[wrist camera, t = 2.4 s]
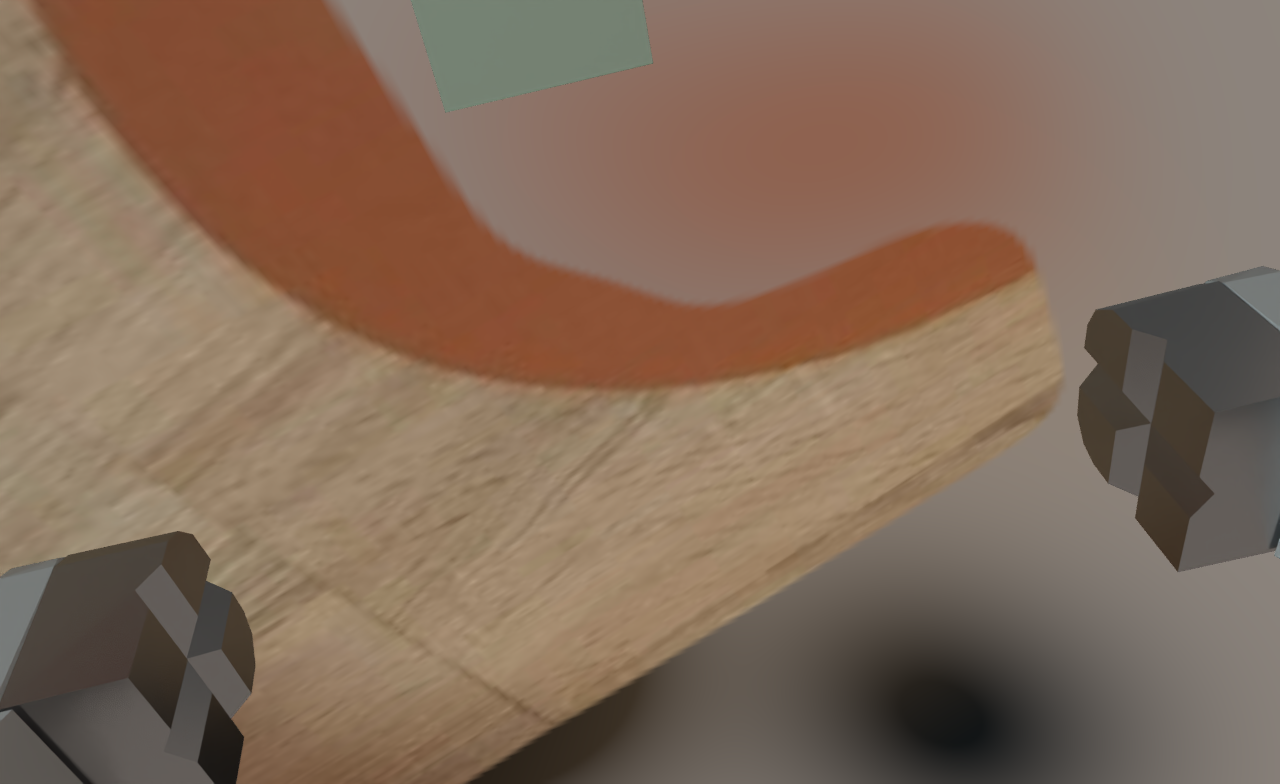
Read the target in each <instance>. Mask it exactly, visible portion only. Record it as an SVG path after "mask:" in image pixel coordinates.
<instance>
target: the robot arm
mask: <svg viewBox="0 0 1280 784" xmlns="http://www.w3.org/2000/svg"><path fill="white" fill-rule="evenodd" d="M1084 348H1085V349H1086V350H1087V352H1088V353H1089V354H1090V355H1091V356H1092V357H1093V358H1094V359H1095V361H1096V362H1097V363H1098V364H1097V366H1096V367H1095V368H1094V369H1093V371H1092V372H1091V373H1090V374H1089V376H1088V377H1087V378H1086V379H1085V381H1084V382H1083V383H1082V384H1081V386H1080V387H1079V400H1078V413H1077V416H1078V421H1079V425H1080V430H1081V434H1082V439H1083V443H1084V445H1085V447H1086V449H1087V451H1088V454H1089V456H1090V458H1091V460H1092V462H1093V464H1094V465H1095V467H1096V468H1097V469H1098V471H1099V472H1100V473H1101V475H1102V476H1103V477H1104V478H1105V480H1106V481H1107V483H1108V484H1111V485H1113V486H1115V487H1117V488H1120V489H1122V490H1124V491H1127V492H1129V493H1131V494H1134V495H1136V496H1138V502H1137V510H1136V515H1135V518H1136V520H1137V521H1138V522H1139V524H1140V525H1141V526H1142V527H1143V528H1144V530H1145V531H1146V532H1147V534H1148V535H1149V536H1150V538H1151V539H1152V540H1153V541H1154V542H1155V544H1156V545H1157V546H1158V548H1159V549H1160V550H1161V551H1162V553H1163V554H1164V555H1165V556H1166V558H1167V559H1168V560H1169V561H1170V563H1171V564H1172V565H1173V566H1174V568H1175V569H1176V570H1177V572H1180V571H1185V570H1190V569H1194V568H1199V567H1203V566H1208V565H1213V564H1217V563H1222V562H1226V561H1231V560H1235V559H1240V558H1245V557H1249V556H1254V555H1258V554H1263V553H1267V552H1272V551H1275V556H1276V557H1277V558H1279V559H1280V271H1279V270H1276V269H1272V268H1268V267H1264V266H1261V267H1257V268H1254V269H1250V270H1247V271H1242V272H1239V273H1235V274H1231V275H1227V276H1223V277H1220V278H1216V279H1212V280H1208V281H1206V282H1205V283H1204V284H1199V285H1194V286H1190V287H1186V288H1182V289H1178V290H1174V291H1170V292H1166V293H1162V294H1157V295H1154V296H1150V297H1145V298H1141V299H1137V300H1133V301H1129V302H1125V303H1121V304H1117V305H1113V306H1109V307H1105V308H1101V309H1097V310H1095V312H1094V314H1093V316H1092V318H1091V319H1090V321H1089V323H1088V325H1087V332H1086V340H1085V346H1084ZM210 561H211V559H210V558H209V556H208V555H207V554H206V552H205V551H204V549H203V548H202V547H201V545H200V544H199V542H198V541H197V540H196V538H195V537H194V535H193V534H189V533H185V532H180V531H176V532H172V533H167V534H163V535H158V536H153V537H149V538H144V539H140V540H135V541H130V542H126V543H121V544H117V545H112V546H108V547H103V548H98V549H94V550H89V551H85V552H80V553H75V554H71V555H68V556H66V557H64V558H57V559H52V560H48V561H43V562H39V563H34V564H30V565H25V566H21V567H16V568H12V569H10V570H9V571H7V572H6V573H5V574H3V575H2V576H1V577H0V784H236V781H237V775H238V769H239V764H240V758H241V752H242V746H243V741H244V736H243V735H242V734H241V732H240V731H239V729H238V728H237V727H236V725H235V724H234V722H233V721H232V720H231V718H232V717H233V716H234V714H235V713H236V712H237V711H238V709H239V708H240V707H241V706H242V705H243V703H244V702H245V701H246V700H247V698H248V697H249V696H250V695H251V693H252V686H253V679H254V672H255V657H254V647H253V637H252V632H251V629H250V627H249V624H248V621H247V618H246V616H245V613H244V611H243V609H242V607H241V606H240V604H239V603H238V601H237V599H236V598H235V596H234V595H233V593H232V592H230V591H228V590H225V589H223V588H221V587H219V586H216V585H214V584H212V583H210V582H208V581H206V578H207V574H208V569H209V565H210Z"/></svg>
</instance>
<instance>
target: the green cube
mask: <svg viewBox="0 0 1280 784" xmlns="http://www.w3.org/2000/svg"><path fill="white" fill-rule="evenodd" d="M411 2H412V5H413V9H414V12H415V15H416V19H417V22H418V25H419V28H420V32H421V35H422V38H423V41H424V45H425V48H426V51H427V54H428V58H429V61H430V64H431V67H432V71H433V74H434V77H435V80H436V83H437V87H438V90H439V93H440V97H441V100H442V103H443V106H444V110H445V112H450V111H454V110H459V109H463V108H467V107H471V106H476V105H480V104H484V103H488V102H492V101H497V100H501V99H505V98H509V97H514V96H518V95H522V94H526V93H531V92H534V91H539V90H543V89H547V88H551V87H556V86H560V85H564V84H568V83H573V82H577V81H581V80H586V79H589V78H594V77H598V76H603V75H606V74H611V73H615V72H619V71H624V70H628V69H632V68H636V67H641V66H645V65H649V64H653V60H652V54H651V48H650V42H649V36H648V30H647V24H646V18H645V13H644V6H643V1H642V0H411Z"/></svg>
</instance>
